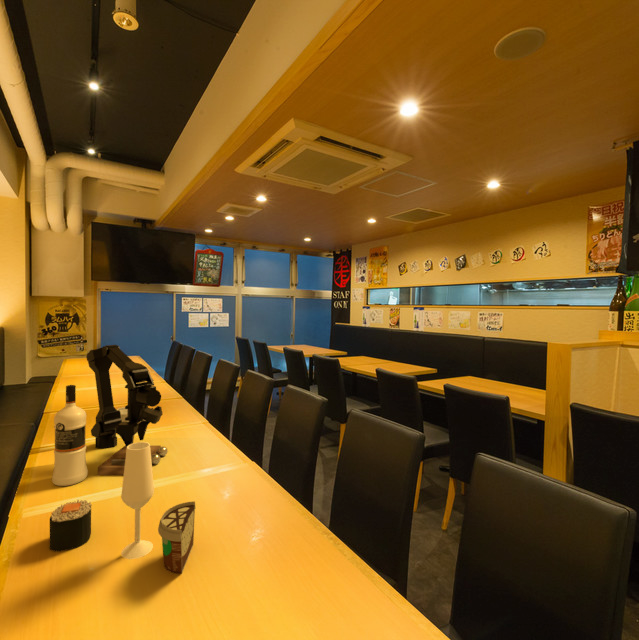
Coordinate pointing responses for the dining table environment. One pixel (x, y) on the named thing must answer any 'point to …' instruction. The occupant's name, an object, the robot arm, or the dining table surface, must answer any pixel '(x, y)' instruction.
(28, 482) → the dining table surface
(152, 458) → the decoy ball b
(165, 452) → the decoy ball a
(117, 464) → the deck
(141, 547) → the champagne flute
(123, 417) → the ramekin
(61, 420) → the vodka
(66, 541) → the sushi
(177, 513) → the food container
